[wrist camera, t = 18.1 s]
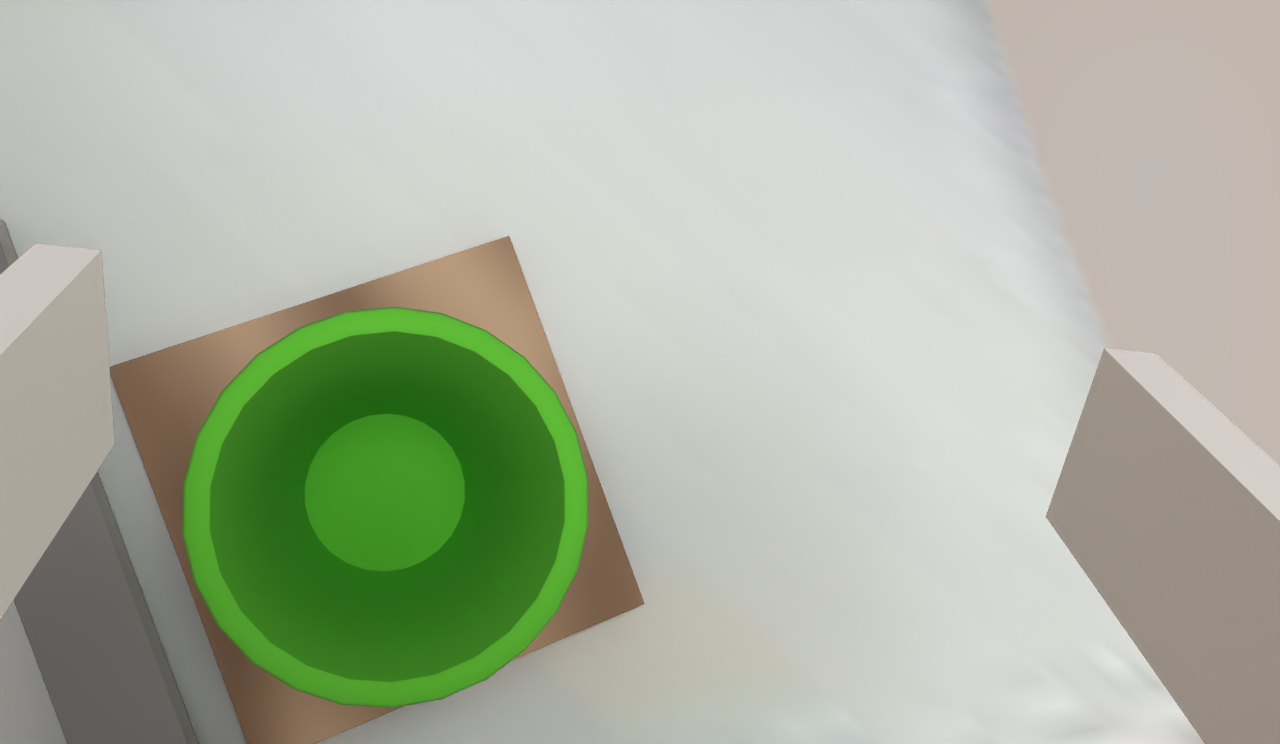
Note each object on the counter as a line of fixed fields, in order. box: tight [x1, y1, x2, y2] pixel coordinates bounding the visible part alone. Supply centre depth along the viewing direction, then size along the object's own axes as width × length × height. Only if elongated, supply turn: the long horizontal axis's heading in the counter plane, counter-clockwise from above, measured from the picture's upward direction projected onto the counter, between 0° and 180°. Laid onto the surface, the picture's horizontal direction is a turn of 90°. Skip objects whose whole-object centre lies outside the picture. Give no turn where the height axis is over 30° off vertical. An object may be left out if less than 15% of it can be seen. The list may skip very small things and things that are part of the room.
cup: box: [182, 306, 588, 708], centre depth 31 cm, size 9×9×11 cm
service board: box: [110, 236, 644, 744], centre depth 37 cm, size 13×13×1 cm
